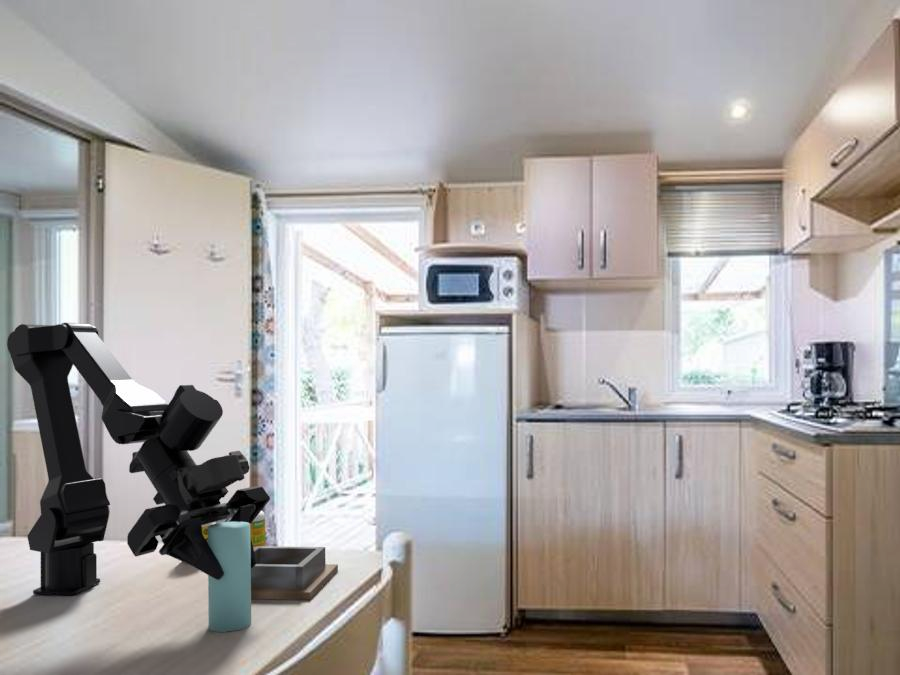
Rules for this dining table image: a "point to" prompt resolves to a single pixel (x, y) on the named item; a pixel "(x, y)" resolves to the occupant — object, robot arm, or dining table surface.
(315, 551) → the brown and grey tray
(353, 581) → the dining table surface
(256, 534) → the supplement bottle
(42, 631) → the dining table surface
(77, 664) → the dining table surface
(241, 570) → the post
